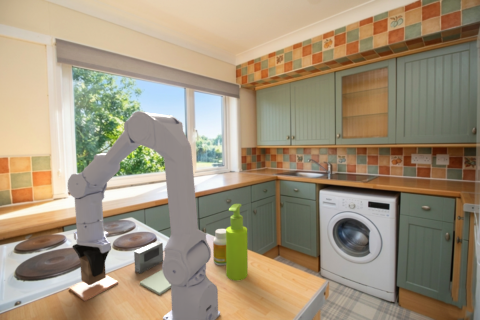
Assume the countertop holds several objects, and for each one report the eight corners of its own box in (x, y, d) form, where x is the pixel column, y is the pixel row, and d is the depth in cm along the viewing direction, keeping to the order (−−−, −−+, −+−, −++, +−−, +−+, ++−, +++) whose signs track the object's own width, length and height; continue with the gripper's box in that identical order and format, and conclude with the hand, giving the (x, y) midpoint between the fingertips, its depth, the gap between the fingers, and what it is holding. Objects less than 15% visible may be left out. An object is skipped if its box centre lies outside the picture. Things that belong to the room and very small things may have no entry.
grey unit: (163, 261, 74) (163, 242, 73) (140, 273, 67) (139, 253, 67) (157, 259, 75) (156, 240, 75) (134, 270, 69) (133, 250, 68)
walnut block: (105, 277, 62) (104, 255, 61) (89, 285, 59) (87, 262, 58) (97, 272, 64) (96, 251, 64) (81, 280, 61) (79, 257, 60)
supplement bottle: (228, 266, 71) (228, 235, 70) (211, 264, 72) (210, 233, 71) (232, 257, 76) (232, 228, 75) (216, 256, 77) (216, 227, 76)
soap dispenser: (222, 280, 64) (221, 207, 62) (230, 267, 70) (230, 200, 69) (243, 284, 62) (242, 209, 60) (249, 270, 69) (249, 202, 67)
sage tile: (184, 278, 65) (184, 276, 65) (159, 295, 58) (159, 292, 58) (164, 270, 69) (164, 268, 69) (139, 284, 62) (139, 282, 62)
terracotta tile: (118, 283, 63) (117, 281, 63) (84, 301, 56) (84, 298, 56) (102, 274, 67) (101, 272, 67) (69, 289, 60) (69, 287, 60)
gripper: (121, 220, 59) (124, 273, 61) (92, 211, 67) (95, 257, 68) (91, 230, 53) (95, 287, 55) (63, 218, 61) (67, 268, 63)
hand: (93, 271), depth 61 cm, fingers closed on walnut block, 4 cm apart
